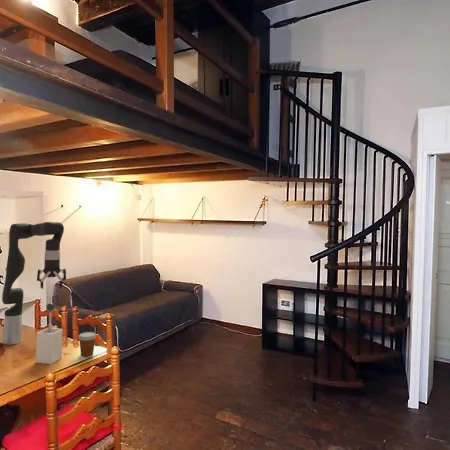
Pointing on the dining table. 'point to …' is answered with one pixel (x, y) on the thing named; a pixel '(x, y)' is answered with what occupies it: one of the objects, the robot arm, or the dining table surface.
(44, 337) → the grey rectangular box
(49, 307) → the plunger
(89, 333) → the disposable coffee cup
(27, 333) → the dining table surface
